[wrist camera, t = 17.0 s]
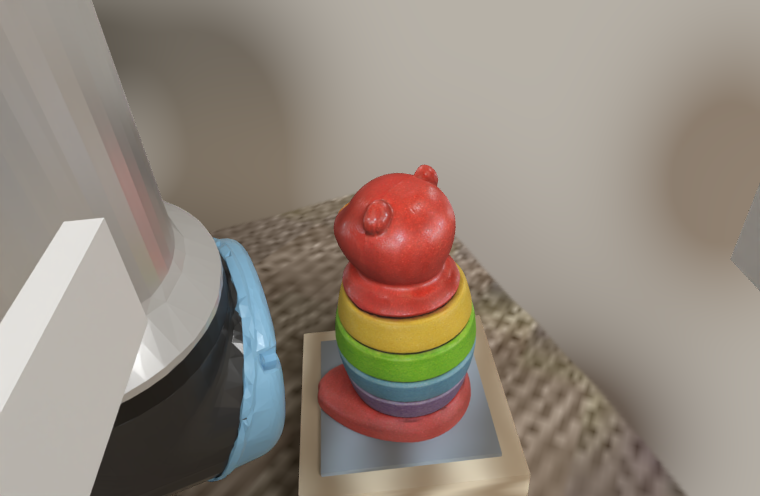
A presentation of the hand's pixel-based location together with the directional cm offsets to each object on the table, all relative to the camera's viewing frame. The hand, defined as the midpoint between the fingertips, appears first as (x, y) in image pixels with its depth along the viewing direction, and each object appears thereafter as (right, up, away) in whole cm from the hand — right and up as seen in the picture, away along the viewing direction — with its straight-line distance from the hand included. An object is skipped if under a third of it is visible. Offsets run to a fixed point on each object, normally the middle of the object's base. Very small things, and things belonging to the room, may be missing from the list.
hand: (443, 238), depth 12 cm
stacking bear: (+1, -11, +31) cm, 33 cm away
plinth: (+1, -14, +34) cm, 37 cm away
